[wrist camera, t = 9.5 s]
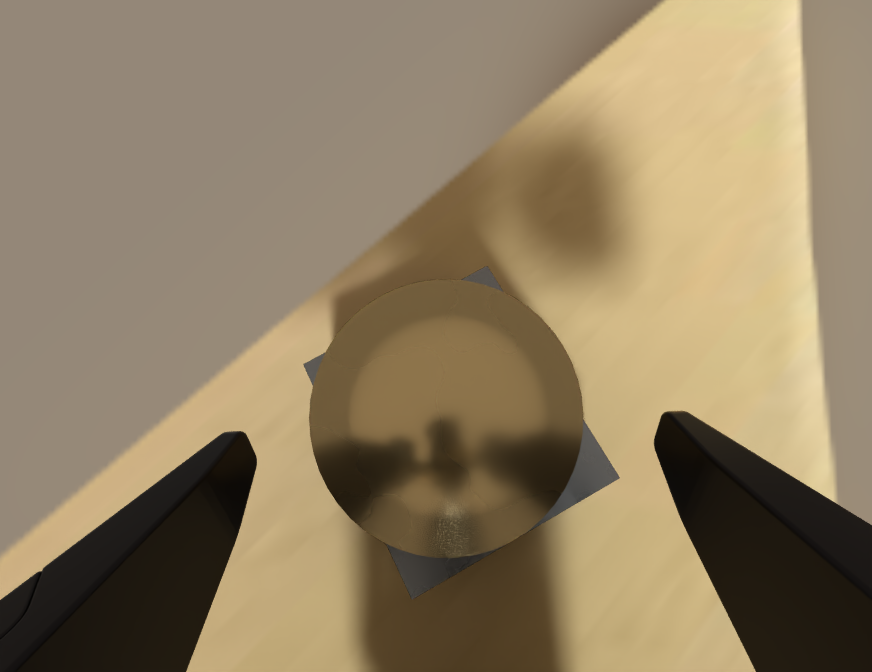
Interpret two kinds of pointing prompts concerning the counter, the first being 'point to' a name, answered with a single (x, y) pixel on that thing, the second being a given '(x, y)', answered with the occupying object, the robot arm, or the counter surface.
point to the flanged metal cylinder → (446, 418)
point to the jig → (584, 481)
